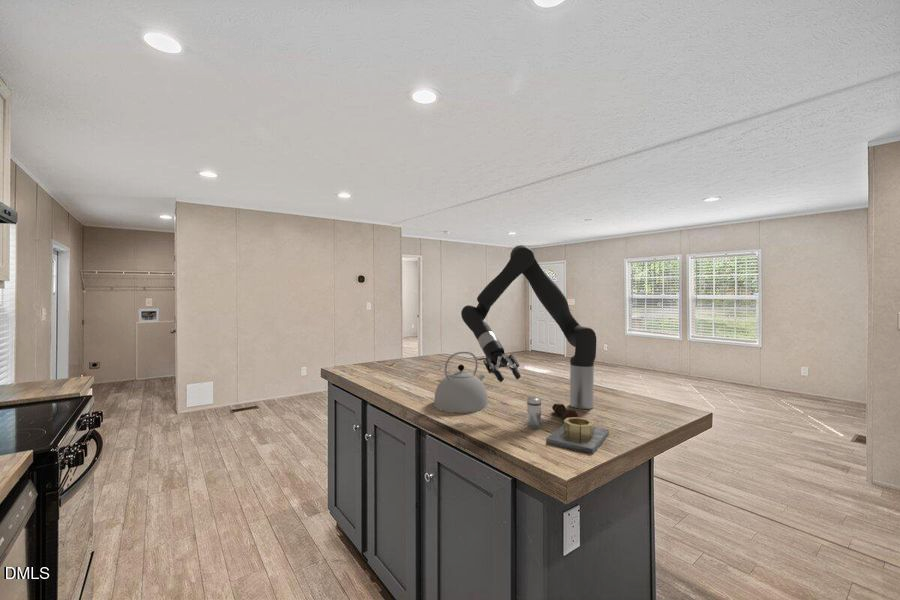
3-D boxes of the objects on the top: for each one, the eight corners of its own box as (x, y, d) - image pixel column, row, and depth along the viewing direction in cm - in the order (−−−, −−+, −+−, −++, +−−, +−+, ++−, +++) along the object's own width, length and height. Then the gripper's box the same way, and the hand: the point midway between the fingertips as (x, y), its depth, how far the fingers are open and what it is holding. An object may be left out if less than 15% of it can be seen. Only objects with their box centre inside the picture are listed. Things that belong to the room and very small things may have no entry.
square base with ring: (567, 425, 136) (567, 410, 136) (608, 434, 128) (608, 417, 128) (546, 443, 120) (546, 425, 120) (592, 454, 112) (592, 435, 112)
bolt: (557, 416, 153) (573, 428, 138) (546, 410, 152) (561, 421, 137) (564, 403, 153) (581, 414, 138) (553, 397, 153) (569, 407, 138)
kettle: (467, 394, 180) (467, 346, 180) (503, 405, 162) (503, 351, 162) (423, 403, 164) (423, 351, 164) (457, 416, 146) (458, 357, 146)
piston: (530, 424, 138) (530, 396, 138) (542, 426, 135) (543, 398, 135) (524, 427, 134) (525, 399, 134) (537, 430, 131) (537, 401, 131)
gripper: (481, 340, 147) (501, 375, 138) (508, 338, 155) (529, 371, 146) (472, 352, 151) (491, 387, 142) (499, 350, 160) (519, 382, 150)
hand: (510, 379), depth 144 cm, fingers open, 8 cm apart
